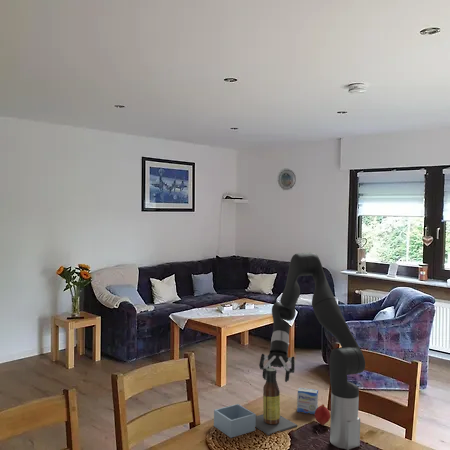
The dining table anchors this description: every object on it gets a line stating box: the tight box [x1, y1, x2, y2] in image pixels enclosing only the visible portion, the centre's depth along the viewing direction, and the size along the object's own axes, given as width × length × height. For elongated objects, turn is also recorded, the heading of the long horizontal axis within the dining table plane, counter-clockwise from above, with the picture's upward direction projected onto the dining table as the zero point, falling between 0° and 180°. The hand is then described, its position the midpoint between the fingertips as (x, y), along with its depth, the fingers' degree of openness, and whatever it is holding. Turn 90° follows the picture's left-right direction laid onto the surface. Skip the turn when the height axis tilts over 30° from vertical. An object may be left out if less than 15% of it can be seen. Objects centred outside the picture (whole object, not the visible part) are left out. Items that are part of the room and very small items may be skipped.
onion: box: [313, 403, 331, 426], centre depth 177 cm, size 6×6×8 cm
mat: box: [255, 413, 298, 436], centre depth 177 cm, size 14×14×1 cm
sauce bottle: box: [262, 367, 281, 425], centre depth 177 cm, size 7×6×20 cm
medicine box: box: [296, 387, 319, 415], centre depth 189 cm, size 8×4×9 cm, turn 73°
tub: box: [213, 403, 257, 439], centre depth 172 cm, size 11×11×6 cm
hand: (275, 380), depth 188 cm, fingers open, 8 cm apart
